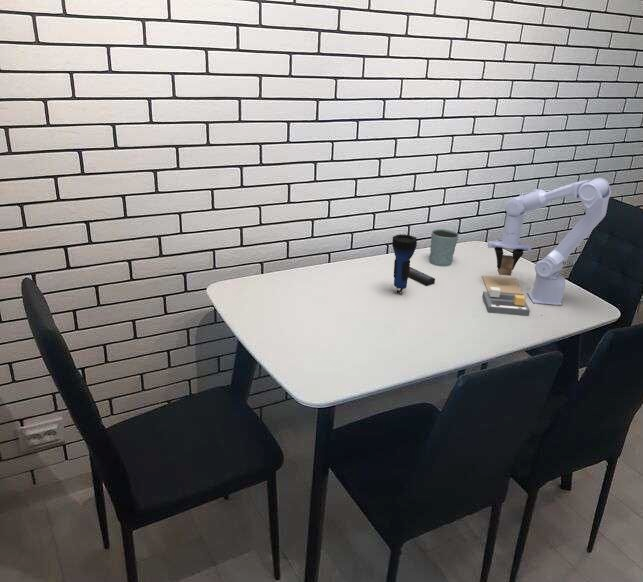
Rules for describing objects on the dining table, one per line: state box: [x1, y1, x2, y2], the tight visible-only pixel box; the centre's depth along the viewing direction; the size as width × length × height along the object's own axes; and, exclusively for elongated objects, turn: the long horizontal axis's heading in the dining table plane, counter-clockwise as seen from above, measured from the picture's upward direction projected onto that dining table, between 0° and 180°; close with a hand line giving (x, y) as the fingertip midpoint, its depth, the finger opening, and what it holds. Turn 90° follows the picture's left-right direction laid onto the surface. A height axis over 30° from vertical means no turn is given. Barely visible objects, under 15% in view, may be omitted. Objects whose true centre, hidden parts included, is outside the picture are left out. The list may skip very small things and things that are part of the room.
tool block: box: [497, 254, 514, 276], centre depth 203 cm, size 4×4×6 cm
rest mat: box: [481, 275, 524, 295], centre depth 206 cm, size 12×14×1 cm
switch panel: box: [482, 291, 531, 317], centre depth 190 cm, size 13×12×2 cm
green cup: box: [429, 228, 459, 267], centre depth 222 cm, size 10×10×12 cm
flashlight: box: [392, 233, 418, 294], centre depth 192 cm, size 8×8×20 cm
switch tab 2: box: [513, 294, 526, 306], centre depth 187 cm, size 3×3×2 cm
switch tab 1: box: [489, 287, 501, 297], centre depth 192 cm, size 3×3×2 cm
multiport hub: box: [408, 266, 436, 287], centre depth 209 cm, size 4×14×2 cm, turn 36°
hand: (505, 268), depth 203 cm, fingers closed on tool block, 4 cm apart
